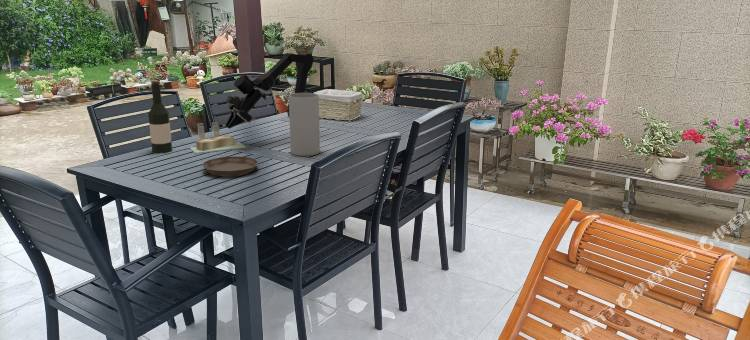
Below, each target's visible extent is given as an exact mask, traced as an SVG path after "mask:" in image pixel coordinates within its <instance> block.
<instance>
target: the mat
mask: <svg viewBox="0 0 750 340" xmlns="http://www.w3.org/2000/svg"><path fill="white" fill-rule="evenodd" d="M246 147H247V146H245V145H244V144H243V143H242V142H240V141H237V142H235V141H234V145H230V146H225V147H220V148H215V149H210V150H205V151H201V150H198V149H196V146H191V147H189V149H190V150H191V151H192V152H193V154H195V155H197V154H205V153H214V152H221V151H223V152H224V151H230V150H231V151H233V150H241V149H246Z"/></svg>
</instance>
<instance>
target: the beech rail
mask: <svg viewBox="0 0 750 340" xmlns="http://www.w3.org/2000/svg"><path fill="white" fill-rule="evenodd" d="M234 142H235V137H234V136H232V135H228V134H226V135H221V136H220V137H215V138H213V137H211V138H207V139H206V138H205V139H204V140H199V139H198V140H195V147H196V149H198V150H201V151H205V150H210V149H215V148H220V147H225V146H230V145H234Z"/></svg>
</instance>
